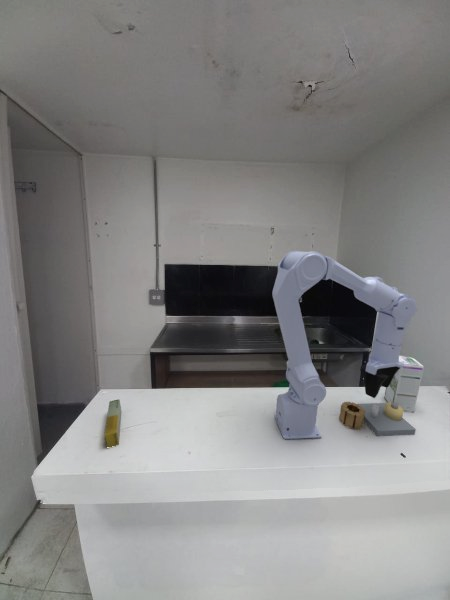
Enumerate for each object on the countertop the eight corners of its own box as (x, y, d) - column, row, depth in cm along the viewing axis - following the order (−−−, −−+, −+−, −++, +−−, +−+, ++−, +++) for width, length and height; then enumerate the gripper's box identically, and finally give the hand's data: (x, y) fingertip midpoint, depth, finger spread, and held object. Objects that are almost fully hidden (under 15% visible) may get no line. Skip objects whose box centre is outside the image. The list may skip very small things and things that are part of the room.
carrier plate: (376, 436, 57) (380, 418, 56) (352, 408, 67) (354, 393, 66) (414, 434, 58) (418, 417, 57) (384, 407, 68) (387, 392, 66)
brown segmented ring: (347, 429, 59) (349, 416, 58) (335, 414, 64) (337, 402, 63) (367, 429, 59) (370, 415, 58) (354, 414, 65) (356, 401, 64)
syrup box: (414, 412, 66) (426, 366, 62) (391, 409, 67) (401, 363, 64) (404, 400, 71) (414, 356, 68) (382, 397, 72) (391, 354, 69)
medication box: (110, 413, 62) (109, 400, 61) (121, 411, 63) (120, 398, 62) (106, 449, 52) (104, 434, 51) (119, 446, 53) (117, 431, 52)
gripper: (395, 354, 49) (383, 410, 52) (417, 340, 58) (405, 389, 61) (360, 343, 55) (351, 393, 58) (385, 331, 63) (375, 376, 66)
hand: (377, 390), depth 60 cm, fingers open, 7 cm apart
